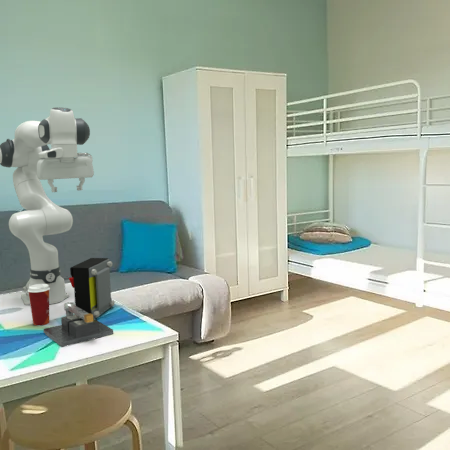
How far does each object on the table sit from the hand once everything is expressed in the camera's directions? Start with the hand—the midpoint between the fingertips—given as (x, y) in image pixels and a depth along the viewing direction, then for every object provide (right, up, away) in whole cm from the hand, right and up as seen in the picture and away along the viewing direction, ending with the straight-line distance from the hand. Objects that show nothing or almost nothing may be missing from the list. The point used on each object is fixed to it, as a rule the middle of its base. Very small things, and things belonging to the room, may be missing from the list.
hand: (67, 191), depth 185 cm
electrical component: (+7, -47, +12) cm, 49 cm away
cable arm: (+8, -43, -12) cm, 45 cm away
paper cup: (-10, -49, +2) cm, 50 cm away
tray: (+7, -50, -10) cm, 51 cm away
